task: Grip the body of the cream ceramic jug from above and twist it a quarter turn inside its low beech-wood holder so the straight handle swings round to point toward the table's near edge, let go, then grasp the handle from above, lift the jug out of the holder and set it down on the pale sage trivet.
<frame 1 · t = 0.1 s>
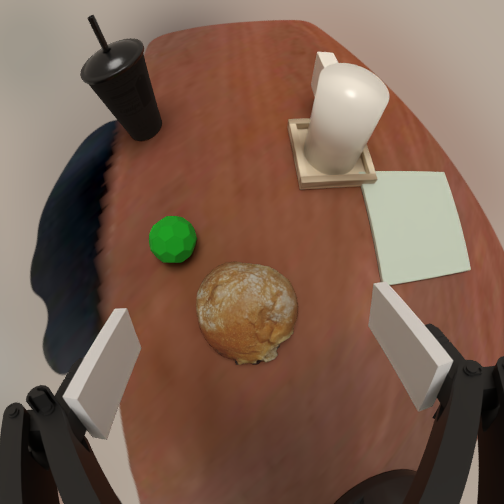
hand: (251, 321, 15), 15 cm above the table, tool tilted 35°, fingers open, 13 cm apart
holder: (329, 154, 34), on the table
bread roll: (248, 313, 30), on the table
drinking cup: (146, 128, 36), on the table
polyhedron: (178, 246, 32), on the table
trivet: (418, 223, 32), on the table
jug: (330, 152, 34), resting in holder
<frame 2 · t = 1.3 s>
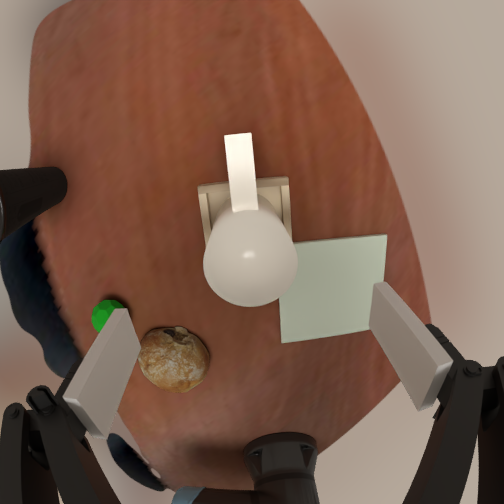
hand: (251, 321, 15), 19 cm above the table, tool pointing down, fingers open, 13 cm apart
holder: (246, 221, 32), on the table
bread roll: (176, 352, 39), on the table
drinking cup: (54, 185, 30), on the table
polyhedron: (116, 308, 36), on the table
trivet: (332, 290, 36), on the table
jug: (246, 222, 32), resting in holder
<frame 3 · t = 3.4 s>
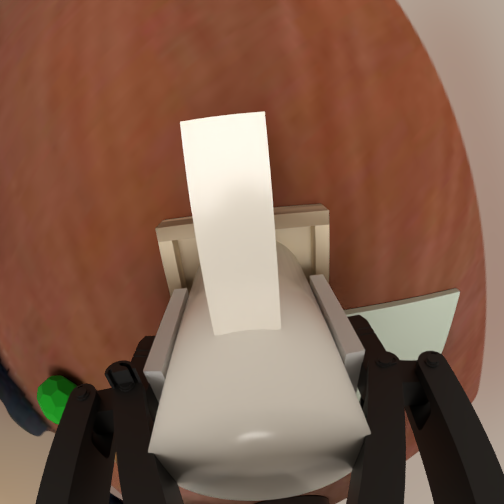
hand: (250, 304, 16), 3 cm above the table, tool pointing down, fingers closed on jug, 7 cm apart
holder: (249, 283, 18), on the table
polyhedron: (70, 383, 22), on the table
trivet: (375, 369, 22), on the table
jug: (249, 287, 18), resting in holder, touching gripper
when the fingers open (3 cm above the table, at t = 5.3 s): jug stays where it is, resting on holder.
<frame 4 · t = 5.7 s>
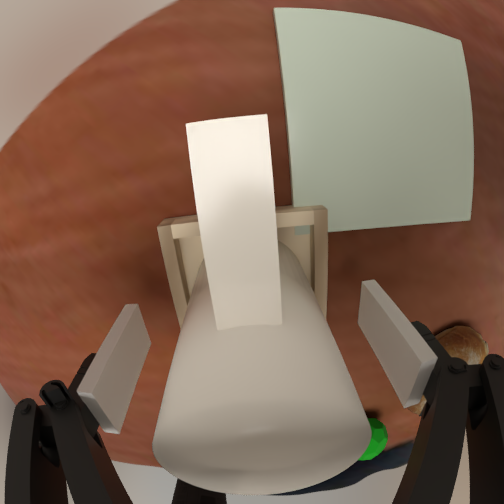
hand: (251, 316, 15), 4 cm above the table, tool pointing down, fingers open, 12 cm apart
holder: (249, 281, 19), on the table
bread roll: (439, 358, 23), on the table
drinking cup: (202, 459, 28), on the table
polyhedron: (358, 421, 26), on the table
trivet: (393, 117, 15), on the table
jug: (250, 285, 18), point 1 cm above the table, touching holder
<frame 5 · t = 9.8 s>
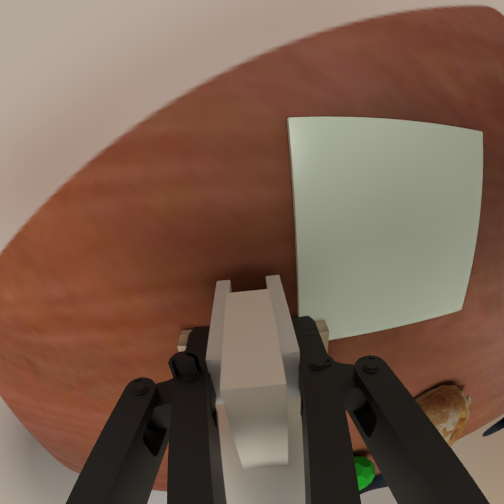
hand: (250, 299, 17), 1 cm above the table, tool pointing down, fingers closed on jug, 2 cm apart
holder: (257, 374, 20), on the table
bread roll: (425, 408, 25), on the table
polyhedron: (350, 457, 27), on the table
trivet: (401, 232, 17), on the table
jug: (260, 380, 20), point 1 cm above the table, touching gripper
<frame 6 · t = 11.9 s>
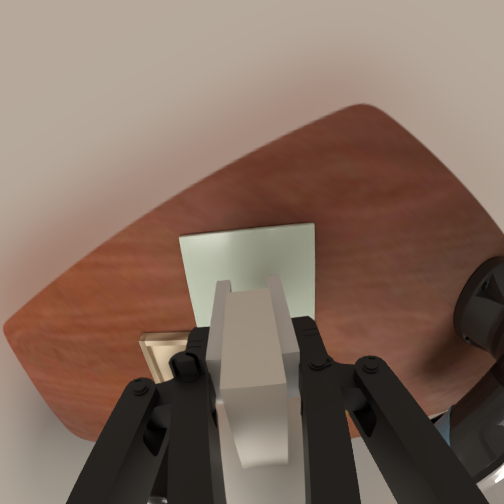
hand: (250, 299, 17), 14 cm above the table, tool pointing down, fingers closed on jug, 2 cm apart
holder: (184, 359, 36), on the table
drinking cup: (175, 445, 45), on the table
trivet: (252, 288, 33), on the table
jug: (259, 380, 20), point 14 cm above the table, touching gripper
when the fingers open (2 cm above the table, at t = 14.3 s): jug stays where it is, resting on trivet.
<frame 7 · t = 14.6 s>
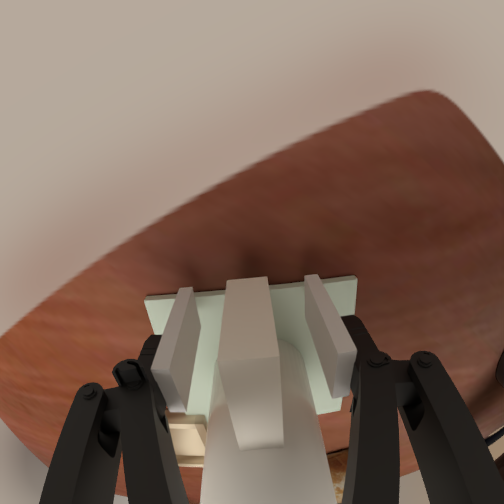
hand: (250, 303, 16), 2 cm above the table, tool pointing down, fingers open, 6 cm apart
holder: (170, 435, 25), on the table
bread roll: (336, 462, 29), on the table
trivet: (258, 366, 21), on the table
jug: (259, 371, 20), point 1 cm above the table, touching trivet
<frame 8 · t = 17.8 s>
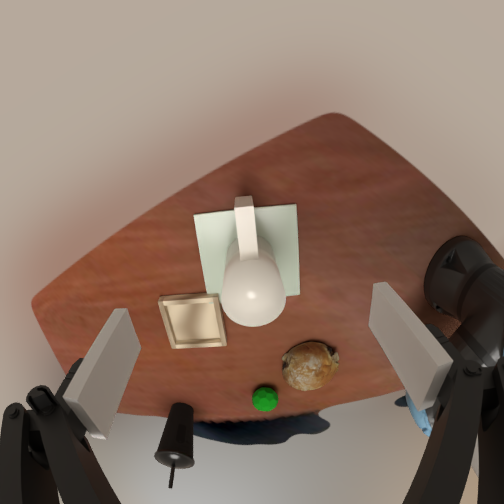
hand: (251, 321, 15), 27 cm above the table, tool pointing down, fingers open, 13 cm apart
holder: (194, 318, 46), on the table
bread roll: (309, 358, 50), on the table
drinking cup: (182, 408, 55), on the table
polyhedron: (264, 389, 53), on the table
trivet: (249, 255, 42), on the table
jug: (250, 256, 41), point 1 cm above the table, touching trivet
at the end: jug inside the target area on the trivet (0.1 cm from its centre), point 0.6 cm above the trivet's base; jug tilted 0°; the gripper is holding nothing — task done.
